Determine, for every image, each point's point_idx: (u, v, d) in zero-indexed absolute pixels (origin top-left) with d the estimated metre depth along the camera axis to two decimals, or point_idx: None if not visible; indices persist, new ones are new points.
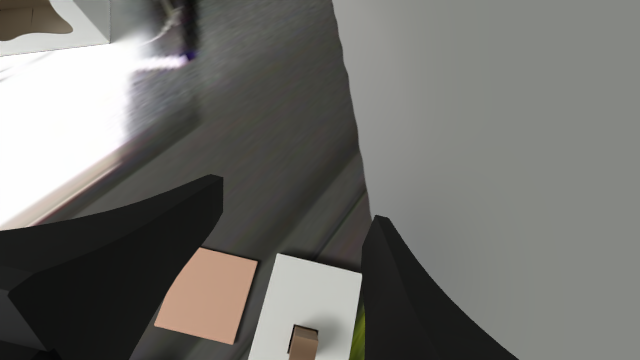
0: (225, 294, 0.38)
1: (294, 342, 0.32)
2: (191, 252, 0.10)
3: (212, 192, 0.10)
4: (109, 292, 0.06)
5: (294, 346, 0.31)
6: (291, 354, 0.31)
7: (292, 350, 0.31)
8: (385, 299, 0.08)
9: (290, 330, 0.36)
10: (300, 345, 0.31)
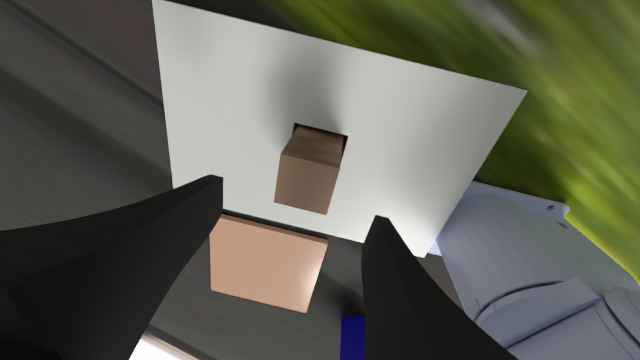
0: (263, 252, 0.26)
1: (286, 203, 0.14)
2: (191, 252, 0.10)
3: (212, 192, 0.10)
4: (109, 292, 0.06)
5: (294, 203, 0.14)
6: (309, 208, 0.14)
7: (301, 207, 0.14)
8: (385, 299, 0.08)
9: None
10: (291, 192, 0.14)
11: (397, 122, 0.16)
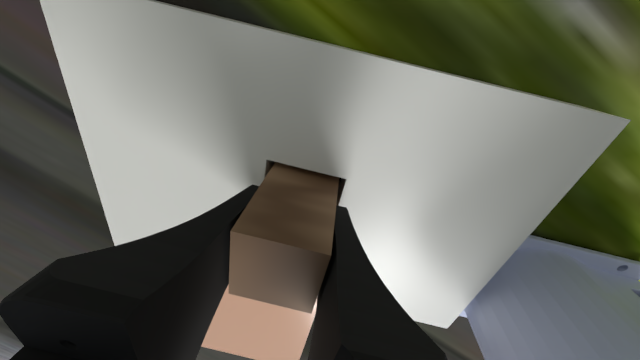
0: (240, 305, 0.21)
1: (248, 295, 0.09)
2: None
3: None
4: (185, 310, 0.06)
5: (261, 296, 0.09)
6: (284, 304, 0.09)
7: (272, 301, 0.09)
8: (327, 285, 0.08)
9: None
10: (254, 282, 0.09)
11: (419, 163, 0.10)
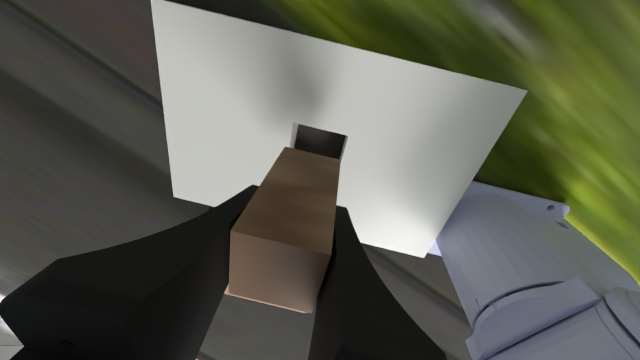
0: None
1: (248, 295, 0.09)
2: None
3: None
4: (184, 310, 0.06)
5: (261, 296, 0.09)
6: (284, 304, 0.09)
7: (272, 301, 0.09)
8: (327, 285, 0.08)
9: None
10: (254, 282, 0.09)
11: (397, 122, 0.16)
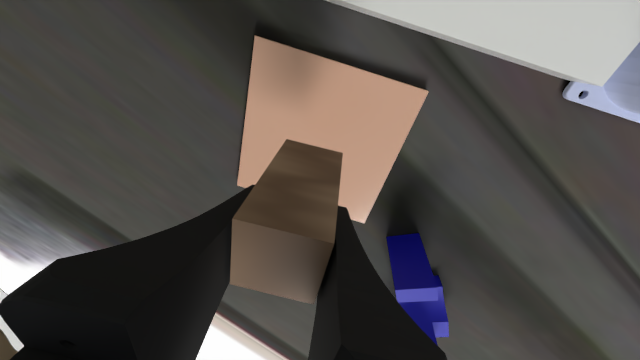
0: (325, 111, 0.18)
1: (250, 285, 0.09)
2: None
3: None
4: (185, 310, 0.06)
5: (262, 286, 0.09)
6: (286, 294, 0.09)
7: (274, 292, 0.09)
8: (327, 285, 0.08)
9: None
10: (256, 272, 0.09)
11: None
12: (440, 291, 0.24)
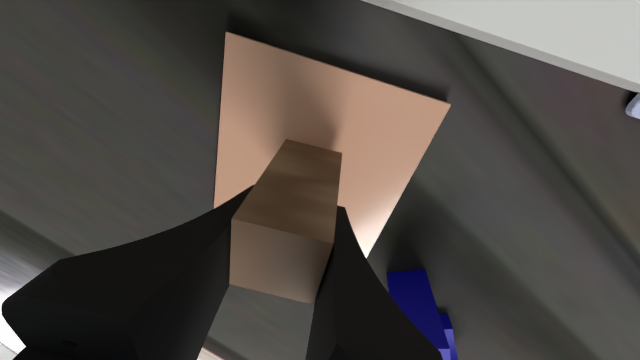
0: (318, 128, 0.14)
1: (249, 285, 0.09)
2: None
3: None
4: (186, 311, 0.06)
5: (262, 286, 0.09)
6: (285, 294, 0.09)
7: (273, 292, 0.09)
8: (324, 284, 0.08)
9: None
10: (255, 272, 0.09)
11: None
12: (450, 334, 0.21)
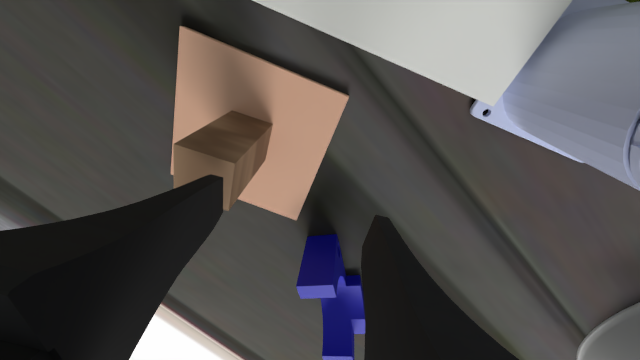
0: (253, 107, 0.18)
1: None
2: (191, 252, 0.10)
3: (212, 192, 0.10)
4: (109, 292, 0.06)
5: None
6: None
7: None
8: (385, 299, 0.08)
9: None
10: None
11: None
12: (359, 290, 0.26)
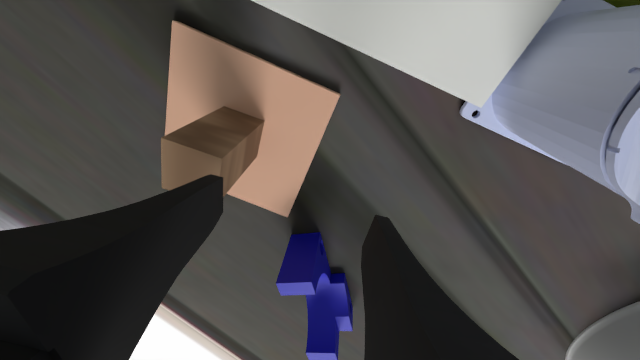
0: (244, 104, 0.18)
1: None
2: (191, 252, 0.10)
3: (212, 192, 0.10)
4: (109, 292, 0.06)
5: None
6: None
7: None
8: (385, 299, 0.08)
9: None
10: (178, 178, 0.14)
11: None
12: (343, 287, 0.26)
